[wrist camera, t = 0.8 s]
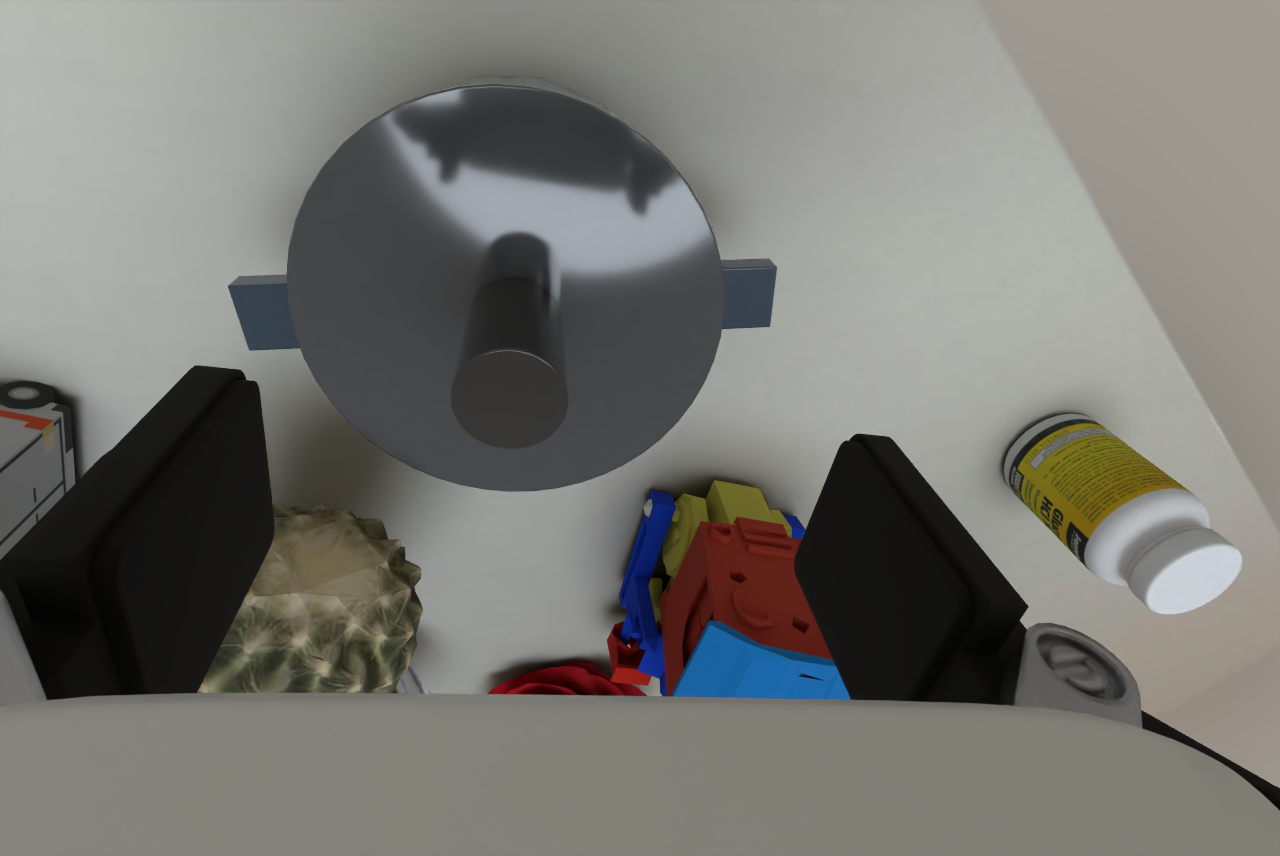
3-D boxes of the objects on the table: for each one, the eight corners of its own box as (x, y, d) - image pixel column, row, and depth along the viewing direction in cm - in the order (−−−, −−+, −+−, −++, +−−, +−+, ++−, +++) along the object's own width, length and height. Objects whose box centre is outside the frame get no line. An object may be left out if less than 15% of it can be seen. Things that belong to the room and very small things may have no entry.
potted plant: (311, 1013, 37) (534, 917, 19) (-76, 968, 31) (-275, 771, 13) (405, 704, 50) (592, 473, 32) (143, 632, 44) (190, 302, 26)
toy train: (816, 481, 40) (942, 697, 28) (721, 657, 48) (786, 889, 35) (657, 450, 38) (715, 672, 25) (583, 641, 45) (599, 886, 32)
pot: (260, 77, 26) (153, 103, 19) (737, 76, 28) (805, 98, 21) (341, 385, 33) (286, 489, 26) (715, 366, 35) (760, 457, 28)
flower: (900, 888, 45) (479, 786, 37) (813, 879, 53) (445, 792, 45) (894, 744, 50) (523, 627, 42) (815, 754, 58) (486, 656, 50)
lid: (238, 80, 19) (113, 110, 14) (733, 79, 21) (804, 105, 15) (351, 486, 27) (301, 612, 21) (705, 462, 29) (745, 573, 23)
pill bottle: (980, 461, 41) (1109, 593, 32) (1068, 391, 39) (1233, 511, 30) (1029, 508, 44) (1161, 642, 34) (1114, 445, 42) (1278, 570, 32)
